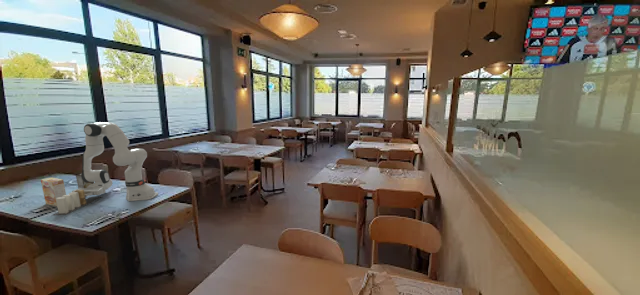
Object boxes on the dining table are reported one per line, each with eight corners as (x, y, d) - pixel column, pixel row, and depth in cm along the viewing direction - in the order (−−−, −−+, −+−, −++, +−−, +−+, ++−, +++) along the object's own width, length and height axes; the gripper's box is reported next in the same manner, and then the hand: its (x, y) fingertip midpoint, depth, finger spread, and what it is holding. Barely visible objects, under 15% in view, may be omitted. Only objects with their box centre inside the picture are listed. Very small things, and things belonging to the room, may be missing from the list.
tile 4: (68, 212, 187) (65, 197, 185) (66, 213, 185) (63, 198, 183) (61, 212, 187) (58, 197, 185) (58, 213, 185) (55, 198, 183)
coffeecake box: (45, 204, 202) (40, 179, 198) (57, 200, 209) (52, 177, 205) (56, 207, 197) (51, 182, 193) (68, 203, 203) (63, 179, 200)
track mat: (103, 197, 216) (103, 196, 215) (66, 215, 182) (66, 215, 182) (91, 197, 215) (91, 196, 215) (51, 216, 182) (51, 215, 182)
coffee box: (89, 189, 233) (86, 172, 230) (95, 190, 232) (92, 172, 229) (78, 193, 225) (75, 175, 221) (84, 193, 223) (81, 175, 220)
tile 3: (74, 209, 192) (72, 194, 190) (72, 210, 190) (69, 195, 188) (67, 209, 192) (64, 194, 190) (65, 210, 190) (62, 195, 188)
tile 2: (80, 206, 197) (78, 192, 195) (78, 207, 195) (75, 193, 193) (73, 206, 197) (71, 192, 194) (71, 207, 195) (68, 193, 192)
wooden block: (86, 203, 202) (83, 189, 200) (84, 204, 200) (81, 190, 198) (79, 203, 201) (76, 189, 199) (77, 204, 199) (74, 190, 197)
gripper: (79, 185, 211) (64, 191, 197) (106, 185, 212) (92, 191, 198) (81, 193, 212) (65, 199, 199) (107, 192, 213) (93, 199, 200)
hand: (79, 195), depth 198 cm, fingers open, 8 cm apart
